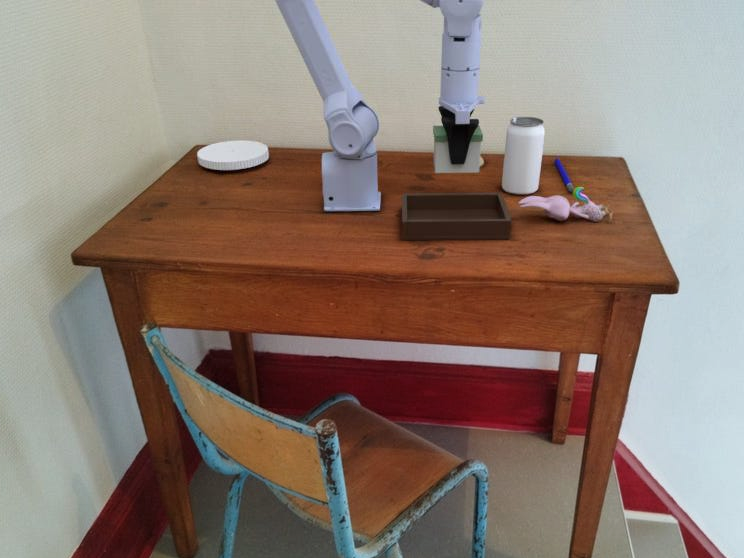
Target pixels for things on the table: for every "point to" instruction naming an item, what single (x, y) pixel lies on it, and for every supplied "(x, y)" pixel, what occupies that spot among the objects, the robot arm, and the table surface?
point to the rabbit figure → (567, 206)
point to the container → (443, 158)
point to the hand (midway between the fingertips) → (456, 157)
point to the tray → (455, 216)
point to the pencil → (564, 175)
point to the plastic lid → (233, 155)
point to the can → (523, 155)
